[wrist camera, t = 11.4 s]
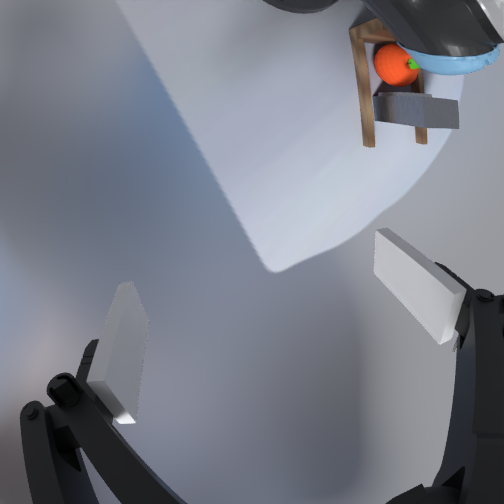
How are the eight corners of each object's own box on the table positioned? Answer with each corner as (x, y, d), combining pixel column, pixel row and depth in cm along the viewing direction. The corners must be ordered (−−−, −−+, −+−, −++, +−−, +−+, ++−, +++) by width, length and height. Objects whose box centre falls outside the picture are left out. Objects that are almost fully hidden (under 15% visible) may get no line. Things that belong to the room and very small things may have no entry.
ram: (372, 92, 38) (421, 92, 28) (406, 93, 39) (457, 96, 28) (375, 120, 40) (424, 127, 30) (408, 120, 41) (459, 128, 30)
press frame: (348, 29, 34) (380, 16, 26) (409, 37, 35) (444, 31, 27) (363, 145, 42) (396, 155, 34) (420, 142, 43) (455, 151, 35)
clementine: (400, 46, 35) (427, 41, 29) (409, 85, 38) (437, 85, 32) (360, 47, 35) (386, 40, 29) (371, 89, 38) (397, 87, 32)
